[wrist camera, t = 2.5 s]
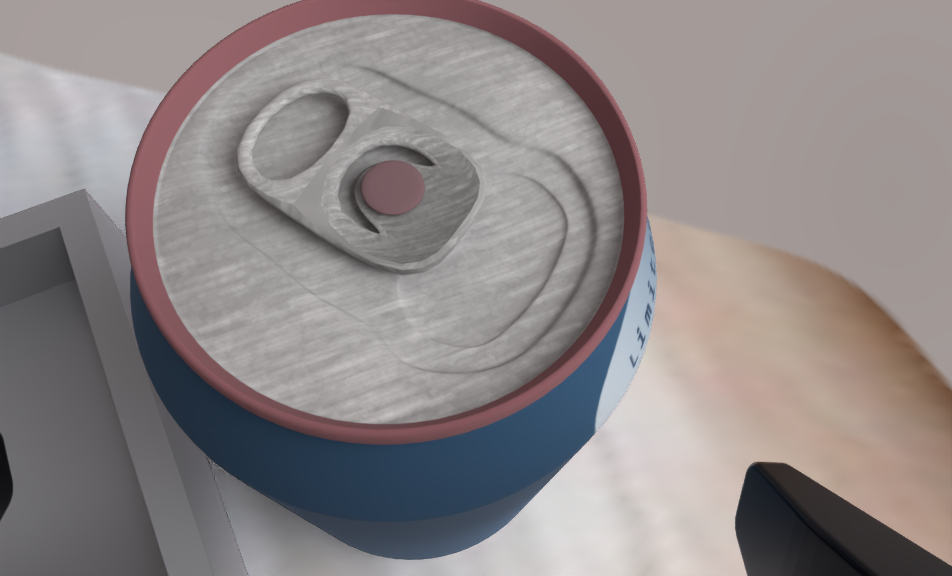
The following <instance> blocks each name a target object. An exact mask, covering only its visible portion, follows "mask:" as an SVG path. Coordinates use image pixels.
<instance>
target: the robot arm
mask: <svg viewBox="0 0 952 576" xmlns="http://www.w3.org/2000/svg"><path fill="white" fill-rule="evenodd" d="M12 495H13V479H12V475H11V470H10V466H9V461H8V456H7V452H6V447H5V443H4V439H3V436H2V434H1V432H0V521H1V519H2V518H3V516H4V514H5V512H6V510H7V509H8V507H9V504H10V502H11V499H12ZM735 530H736V536H737V540H738V544H739V547H740V551H741V555H742V558H743V562H744V565H745V569H746V573H747V576H952V566H951V565H949V564H947V563H946V562H944V561H943V560H941V559H939V558H938V557H936V556H934V555H933V554H931V553H930V552H928V551H926V550H925V549H923V548H922V547H920V546H918V545H917V544H915V543H914V542H912V541H910V540H909V539H907V538H905V537H904V536H902V535H901V534H899V533H897V532H896V531H894V530H893V529H891V528H889V527H888V526H886V525H885V524H883V523H881V522H880V521H878V520H877V519H875V518H873V517H872V516H870V515H869V514H867V513H865V512H864V511H862V510H860V509H859V508H857V507H856V506H854V505H852V504H851V503H849V502H848V501H846V500H844V499H843V498H841V497H840V496H838V495H836V494H835V493H833V492H832V491H830V490H828V489H827V488H825V487H823V486H822V485H820V484H819V483H817V482H815V481H814V480H812V479H811V478H809V477H807V476H806V475H804V474H803V473H801V472H799V471H798V470H796V469H795V468H793V467H791V466H790V465H788V464H785V463H778V462H754V463H752V464H751V465H750V466H749V467H748V469H747V472H746V475H745V479H744V483H743V487H742V491H741V495H740V499H739V503H738V508H737V512H736V517H735Z"/></svg>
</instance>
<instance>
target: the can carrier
mask: <svg viewBox="0 0 952 576" xmlns="http://www.w3.org/2000/svg"><path fill="white" fill-rule="evenodd" d="M130 271H131V263H130V258H129V252H128V247H127V239H126V236H125V235H124V234H123V233H122V232H121V230H120V229H119V228H118V227H117V226H116V225H115V224H114V222H113V221H112V220H111V219H110V218H109V217H108V215H107V214H106V213H105V212H104V211H103V210H102V209H101V207H100V206H99V205H98V204H97V203H96V202H95V200H94V199H93V198H92V197H91V196H90V195H89V194H88V192H87V191H86V190H85V189H83V190H80V191H77V192H74V193H71V194H69V195H66V196H63V197H60V198H57V199H55V200H52V201H49V202H46V203H43V204H40V205H38V206H35V207H32V208H29V209H26V210H24V211H21V212H18V213H15V214H12V215H10V216H7V217H4V218H1V219H0V432H1V434H2V436H3V439H4V443H5V447H6V452H7V456H8V461H9V466H10V470H11V475H12V479H13V495H12V499H11V502H10V504H9V507H8V509H7V510H6V512H5V514H4V516H3V518H2V519H1V521H0V576H248V573H247V571H246V568H245V565H244V562H243V559H242V556H241V553H240V551H239V548H238V545H237V542H236V539H235V536H234V534H233V531H232V528H231V525H230V522H229V519H228V516H227V514H226V511H225V508H224V505H223V502H222V499H221V496H220V494H219V491H218V488H217V485H216V482H215V479H214V476H213V474H212V471H211V468H210V465H209V462H208V459H207V456H206V454H205V453H204V452H203V451H202V450H201V449H200V448H199V447H198V446H196V445H195V444H194V443H193V441H192V440H191V439H190V438H189V437H188V436H187V435H186V434H185V432H184V431H183V430H182V429H181V428H180V427H179V425H178V424H177V423H176V421H175V420H174V419H173V417H172V416H171V415H170V413H169V412H168V410H167V409H166V407H165V406H164V404H163V402H162V401H161V399H160V397H159V396H158V394H157V392H156V390H155V388H154V386H153V384H152V382H151V380H150V378H149V376H148V373H147V371H146V368H145V365H144V363H143V360H142V357H141V355H140V351H139V348H138V344H137V340H136V336H135V332H134V326H133V320H132V314H131V302H130Z"/></svg>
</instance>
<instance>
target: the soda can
mask: <svg viewBox="0 0 952 576" xmlns="http://www.w3.org/2000/svg"><path fill="white" fill-rule="evenodd" d="M125 227H126V239H127V247H128V252H129V258H130V263H131V271H130V302H131V314H132V320H133V326H134V332H135V336H136V340H137V344H138V348H139V351H140V355H141V357H142V360H143V363H144V365H145V368H146V371H147V373H148V376H149V378H150V380H151V382H152V384H153V386H154V388H155V390H156V392H157V394H158V396H159V397H160V399H161V401H162V402H163V404H164V406H165V407H166V409H167V410H168V412H169V413H170V415H171V416H172V417H173V419H174V420H175V421H176V423H177V424H178V425H179V427H180V428H181V429H182V430H183V431H184V432H185V434H186V435H187V436H188V437H189V438H190V439H191V440H192V441H193V443H194V444H195V445H196V446H198V447H199V448H200V449H201V450H202V451H203V452H204V453H205V454H206V455H207V456H208V457H209V458H210V459H212V460H213V461H214V462H215V463H217V464H218V465H219V466H220V467H222V468H223V469H224V470H226V471H227V472H228V473H230V474H231V475H233V476H234V477H236V478H237V479H239V480H241V481H242V482H244V483H245V484H247V485H248V486H250V487H252V488H253V489H255V490H257V491H258V492H260V493H262V494H263V495H265V496H267V497H268V498H270V499H272V500H273V501H275V502H277V503H278V504H280V505H282V506H283V507H285V508H287V509H288V510H290V511H292V512H293V513H295V514H297V515H298V516H300V517H302V518H303V519H305V520H307V521H308V522H310V523H312V524H313V525H315V526H317V527H318V528H320V529H322V530H323V531H325V532H327V533H328V534H330V535H332V536H333V537H335V538H337V539H338V540H340V541H342V542H344V543H346V544H348V545H350V546H352V547H354V548H356V549H359V550H361V551H364V552H367V553H370V554H373V555H378V556H382V557H387V558H394V559H406V560H416V559H429V558H436V557H441V556H446V555H449V554H453V553H456V552H459V551H462V550H465V549H467V548H469V547H472V546H474V545H476V544H478V543H480V542H482V541H483V540H485V539H487V538H489V537H490V536H491V535H493V534H494V533H496V532H497V531H499V530H500V529H501V528H502V527H504V526H505V525H506V524H507V523H508V522H510V521H511V520H512V519H513V518H514V517H515V516H516V515H517V514H518V513H519V512H520V511H521V510H522V509H523V508H524V507H525V506H526V505H527V503H528V502H529V501H530V500H531V499H532V498H533V497H534V496H535V495H536V494H537V493H538V492H539V491H540V490H541V489H542V488H543V487H544V486H545V485H546V484H547V483H548V482H549V481H550V480H551V479H552V478H553V477H554V476H555V475H556V474H557V473H558V472H559V471H560V470H561V468H562V467H563V466H564V465H565V464H566V463H567V462H568V461H569V460H570V459H571V458H572V457H573V456H574V455H575V454H576V453H577V452H578V451H579V450H580V449H581V448H582V447H583V446H584V445H585V444H586V443H587V442H588V441H589V440H590V438H591V437H592V436H593V435H594V434H595V433H596V432H597V431H598V430H599V428H600V427H601V426H602V425H603V424H604V423H605V421H606V420H607V419H608V417H609V416H610V415H611V413H612V412H613V411H614V409H615V408H616V407H617V405H618V403H619V402H620V400H621V399H622V397H623V396H624V394H625V392H626V391H627V389H628V387H629V385H630V383H631V381H632V379H633V377H634V375H635V373H636V371H637V369H638V366H639V364H640V361H641V359H642V357H643V354H644V351H645V348H646V344H647V341H648V338H649V335H650V330H651V325H652V321H653V316H654V308H655V300H656V283H657V274H656V257H655V249H654V242H653V237H652V233H651V228H650V224H649V220H648V217H647V193H646V186H645V178H644V173H643V168H642V164H641V159H640V156H639V153H638V150H637V146H636V143H635V141H634V138H633V136H632V133H631V131H630V128H629V126H628V124H627V122H626V120H625V118H624V116H623V114H622V112H621V110H620V109H619V107H618V105H617V103H616V101H615V100H614V98H613V96H612V95H611V94H610V92H609V91H608V89H607V88H606V86H605V85H604V83H603V82H602V81H601V80H600V78H599V77H598V76H597V75H596V73H595V72H594V71H593V70H592V69H591V68H590V67H589V66H588V65H587V64H586V63H585V62H584V60H583V59H582V58H581V57H579V56H578V55H577V54H576V53H575V52H574V51H573V50H571V49H570V48H569V47H568V46H567V45H565V44H564V43H563V42H561V41H560V40H558V39H557V38H556V37H554V36H553V35H551V34H549V33H548V32H547V31H545V30H543V29H542V28H540V27H538V26H537V25H535V24H533V23H531V22H529V21H527V20H525V19H523V18H521V17H519V16H517V15H515V14H513V13H511V12H508V11H506V10H503V9H501V8H498V7H496V6H493V5H490V4H488V3H485V2H482V1H479V0H302V1H299V2H296V3H293V4H290V5H287V6H284V7H282V8H280V9H277V10H275V11H272V12H270V13H268V14H266V15H263V16H262V17H259V18H257V19H255V20H253V21H251V22H250V23H248V24H246V25H244V26H243V27H241V28H239V29H238V30H236V31H234V32H233V33H231V34H230V35H228V36H227V37H225V38H224V39H223V40H221V41H220V42H218V43H217V44H216V45H215V46H213V47H212V48H211V49H209V50H208V51H207V52H206V53H205V54H203V55H202V56H201V57H200V58H199V59H198V60H197V61H196V62H194V63H193V65H191V67H190V68H189V69H188V70H187V71H186V72H185V73H184V74H183V75H182V76H181V77H180V78H179V79H178V81H177V82H176V83H175V84H174V85H173V87H172V88H171V89H170V90H169V92H168V93H167V95H166V96H165V97H164V99H163V100H162V102H161V103H160V104H159V106H158V108H157V109H156V111H155V113H154V114H153V116H152V118H151V120H150V122H149V124H148V126H147V128H146V130H145V132H144V134H143V136H142V138H141V141H140V144H139V146H138V149H137V151H136V155H135V158H134V161H133V165H132V168H131V173H130V178H129V183H128V188H127V197H126V209H125Z"/></svg>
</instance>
